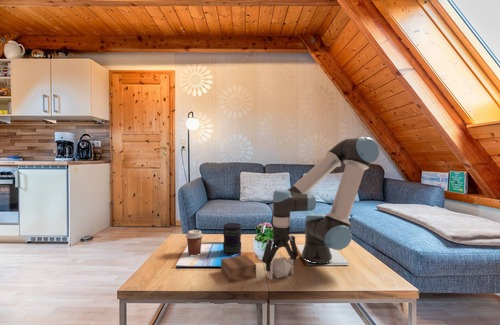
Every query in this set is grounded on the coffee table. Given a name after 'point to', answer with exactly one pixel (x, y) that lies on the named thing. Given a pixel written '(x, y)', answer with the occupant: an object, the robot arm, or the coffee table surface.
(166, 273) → the coffee table surface
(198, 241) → the coffee cup
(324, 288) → the coffee table surface
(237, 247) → the storage jar
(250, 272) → the walnut block
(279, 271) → the die
